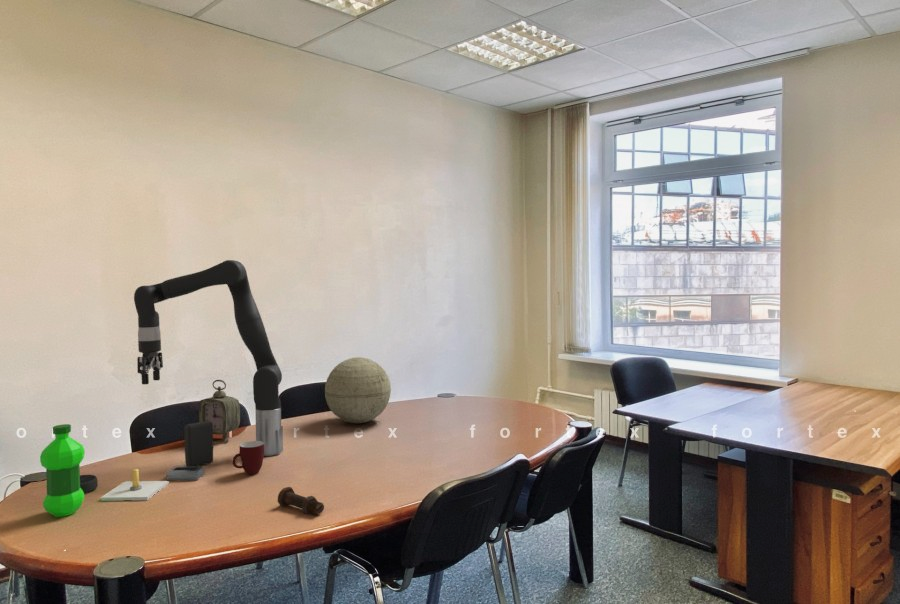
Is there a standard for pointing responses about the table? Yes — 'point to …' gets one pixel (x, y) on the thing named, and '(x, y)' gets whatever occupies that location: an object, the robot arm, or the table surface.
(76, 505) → the plastic bottle
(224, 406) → the tabletop clock
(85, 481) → the smart speaker
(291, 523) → the table surface
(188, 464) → the dark grey upright slab
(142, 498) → the keeper post
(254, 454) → the mug
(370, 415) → the concrete ball
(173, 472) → the steel link
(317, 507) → the bolt
